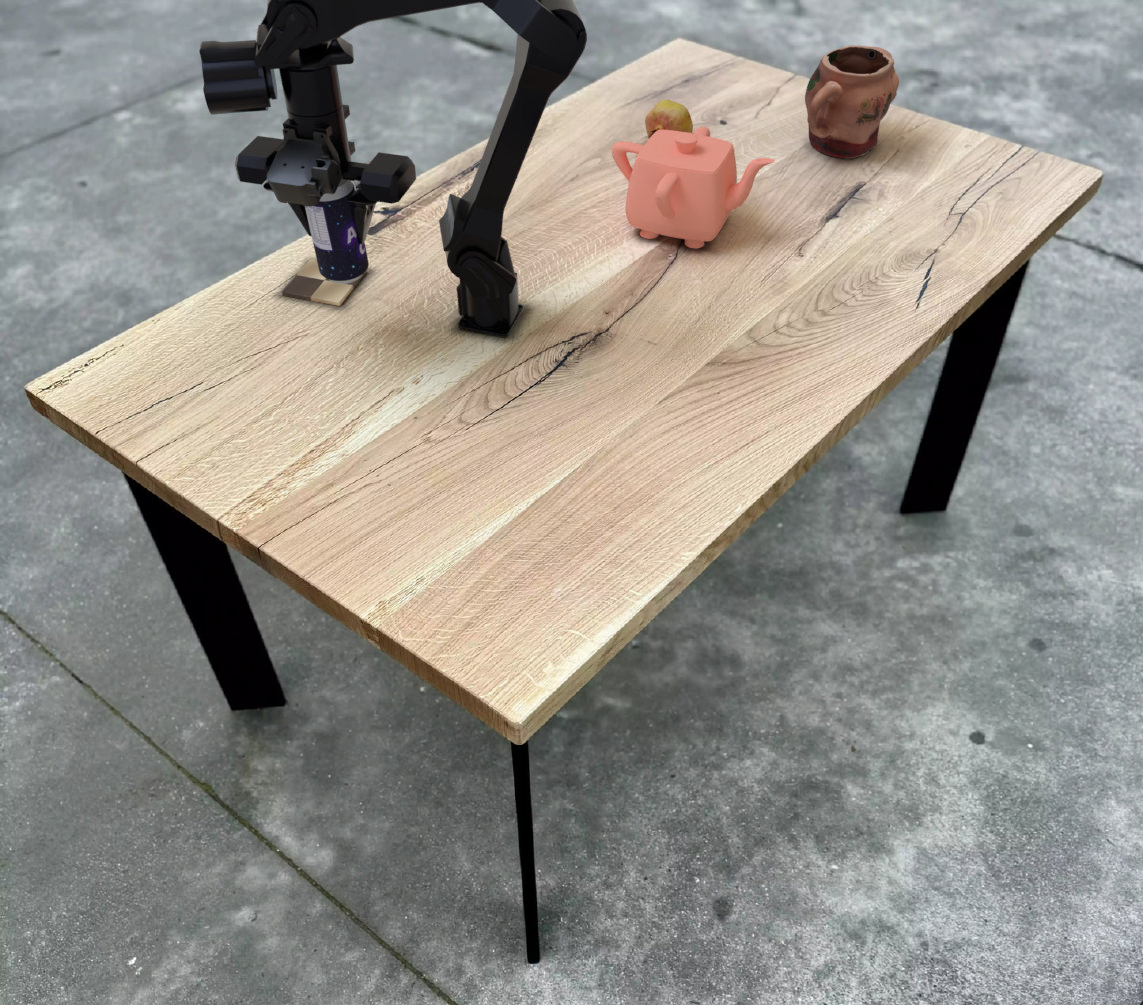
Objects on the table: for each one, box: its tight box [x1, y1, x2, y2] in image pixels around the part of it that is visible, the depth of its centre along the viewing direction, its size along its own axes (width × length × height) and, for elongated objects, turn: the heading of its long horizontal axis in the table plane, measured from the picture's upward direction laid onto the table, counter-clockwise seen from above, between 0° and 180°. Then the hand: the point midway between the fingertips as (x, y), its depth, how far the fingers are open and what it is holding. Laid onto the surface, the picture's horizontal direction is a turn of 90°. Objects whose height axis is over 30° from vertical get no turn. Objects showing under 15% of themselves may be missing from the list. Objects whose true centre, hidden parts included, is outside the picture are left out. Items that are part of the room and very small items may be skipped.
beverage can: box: [305, 179, 370, 284], centre depth 122 cm, size 6×6×12 cm
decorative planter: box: [804, 44, 900, 159], centre depth 161 cm, size 20×12×14 cm, turn 143°
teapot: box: [611, 126, 776, 249], centre depth 145 cm, size 17×16×13 cm
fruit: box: [644, 99, 694, 140], centre depth 164 cm, size 7×7×10 cm
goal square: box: [281, 258, 368, 307], centre depth 140 cm, size 8×8×1 cm
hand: (337, 238), depth 123 cm, fingers closed on beverage can, 6 cm apart
